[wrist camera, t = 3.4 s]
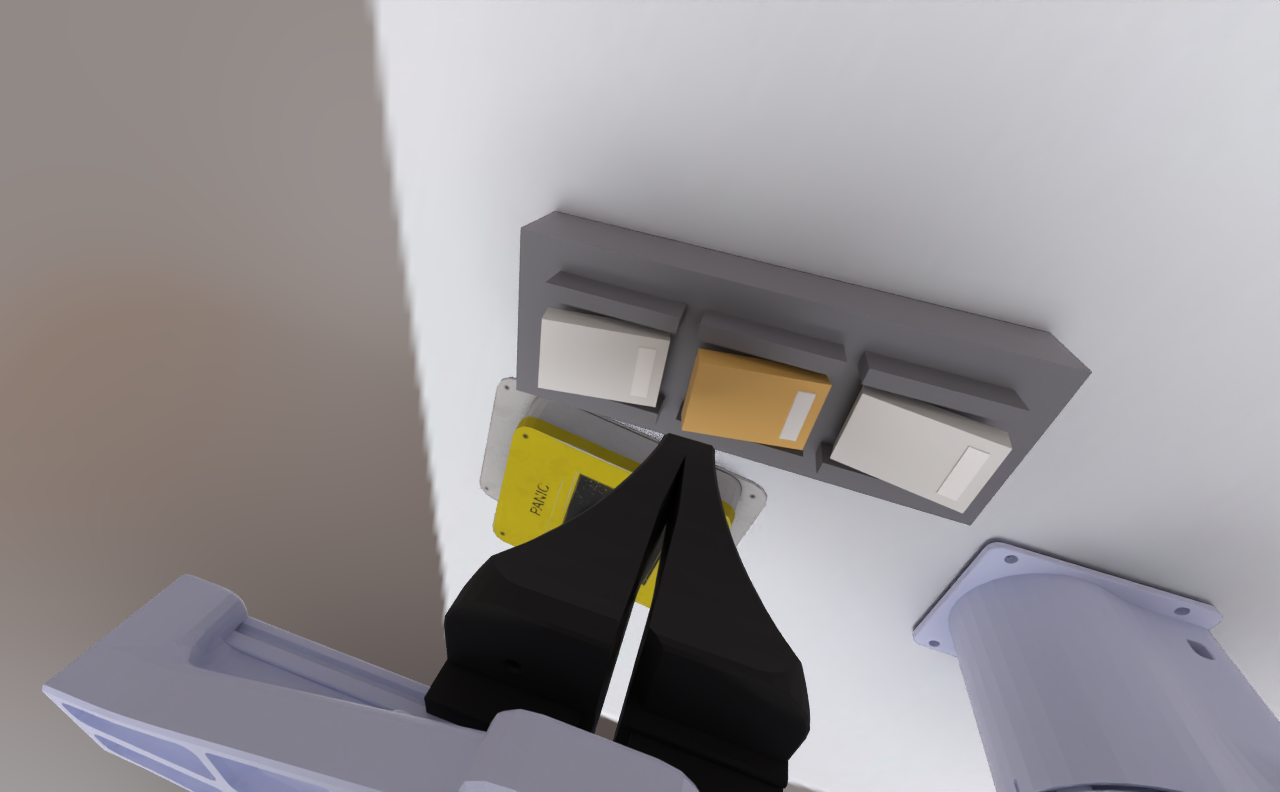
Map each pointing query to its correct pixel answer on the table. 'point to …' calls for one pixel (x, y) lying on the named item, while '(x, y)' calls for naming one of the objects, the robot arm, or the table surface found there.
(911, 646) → the table surface
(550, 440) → the emergency button
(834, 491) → the table surface
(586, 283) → the switch strip
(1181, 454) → the table surface
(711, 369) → the rocker amber
